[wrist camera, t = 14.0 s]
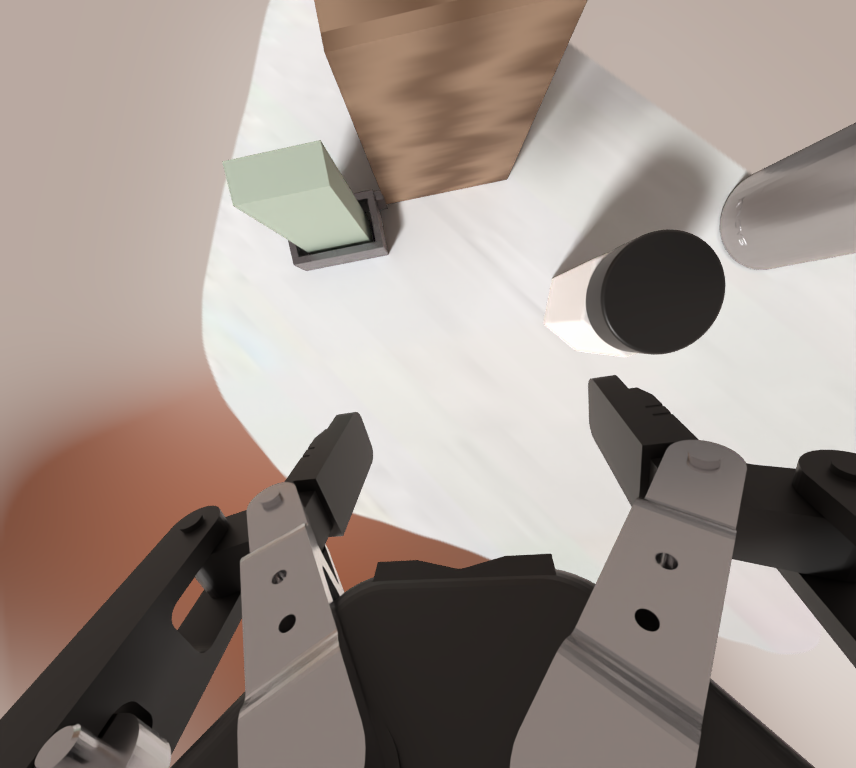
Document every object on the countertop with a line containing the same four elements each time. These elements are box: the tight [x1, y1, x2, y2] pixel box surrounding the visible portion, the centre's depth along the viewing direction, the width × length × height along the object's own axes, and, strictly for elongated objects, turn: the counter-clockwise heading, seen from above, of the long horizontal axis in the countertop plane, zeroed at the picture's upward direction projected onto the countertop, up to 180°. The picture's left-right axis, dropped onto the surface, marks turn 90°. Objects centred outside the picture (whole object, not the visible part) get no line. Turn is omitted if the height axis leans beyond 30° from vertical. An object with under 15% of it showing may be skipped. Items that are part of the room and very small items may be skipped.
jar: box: [543, 230, 725, 357], centre depth 28 cm, size 9×8×12 cm
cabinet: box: [314, 0, 587, 204], centre depth 23 cm, size 12×8×18 cm, turn 100°
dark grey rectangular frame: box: [288, 190, 388, 271], centre depth 32 cm, size 9×5×3 cm, turn 100°
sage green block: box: [223, 140, 373, 254], centre depth 26 cm, size 6×4×14 cm, turn 100°
